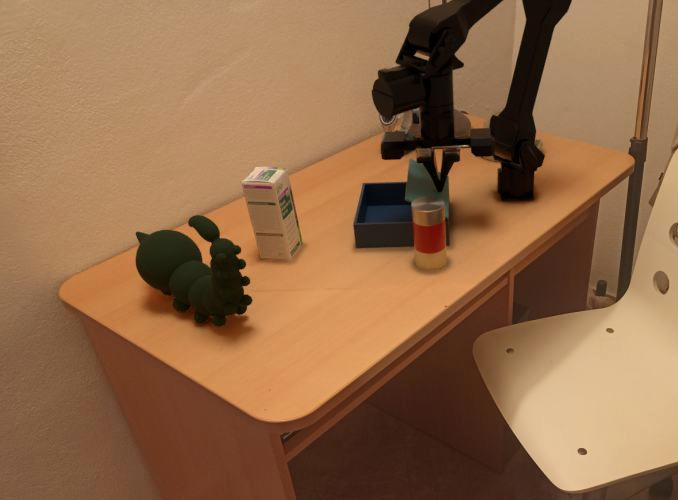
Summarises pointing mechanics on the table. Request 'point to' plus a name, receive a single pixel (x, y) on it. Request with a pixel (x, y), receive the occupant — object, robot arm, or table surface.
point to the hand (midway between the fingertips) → (440, 191)
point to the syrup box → (272, 212)
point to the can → (429, 232)
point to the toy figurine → (195, 271)
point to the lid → (424, 185)
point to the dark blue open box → (385, 217)
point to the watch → (390, 123)
